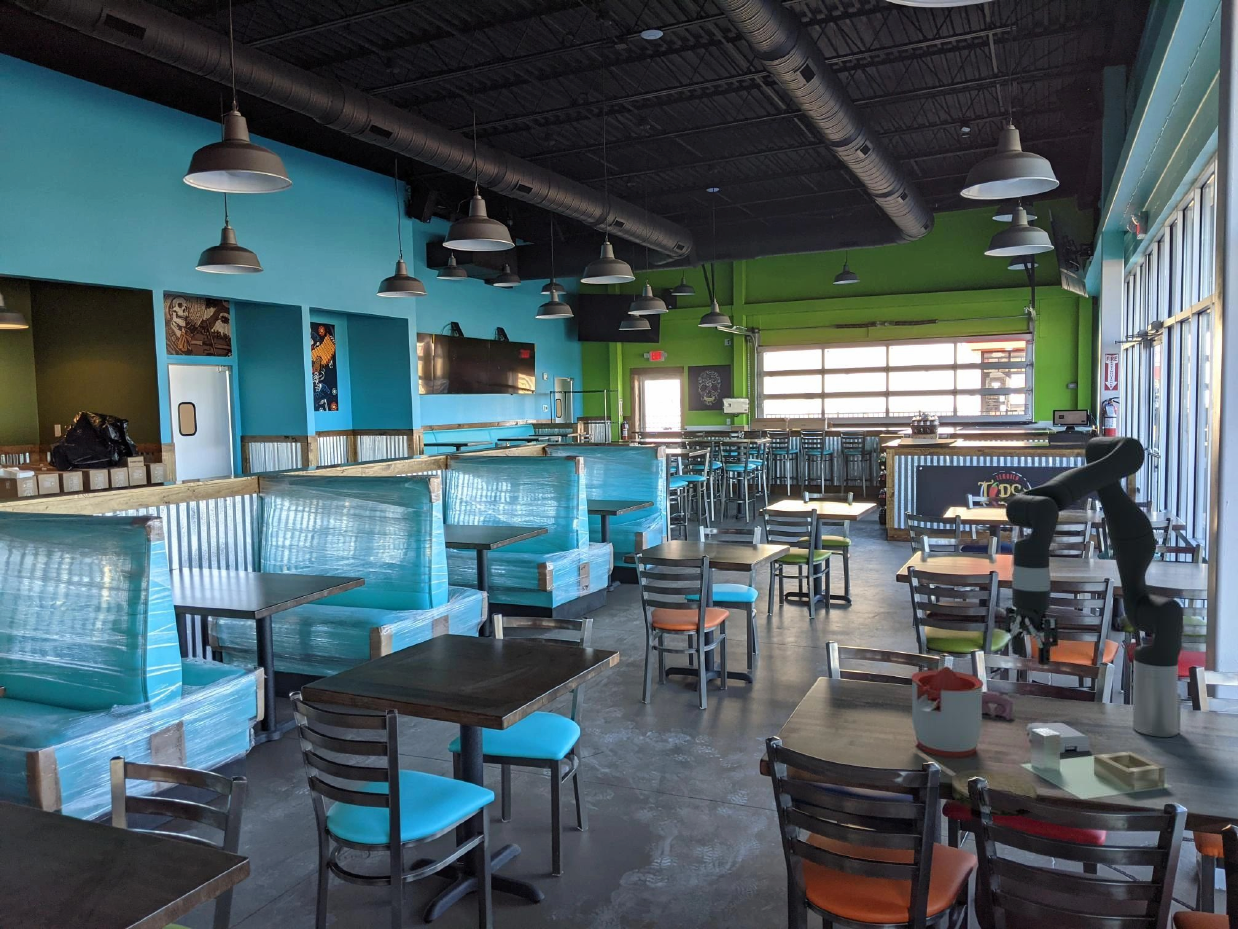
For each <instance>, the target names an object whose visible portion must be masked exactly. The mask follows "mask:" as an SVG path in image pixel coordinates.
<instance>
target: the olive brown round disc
mask: <svg viewBox="0 0 1238 929" xmlns="http://www.w3.org/2000/svg"><path fill="white" fill-rule="evenodd" d="M974 776H976V777H982V778H984V779H986V780H987V783H988V786H989V787H990V788H995V789H997V790H1005V791H1011V792H1013V793H1016V794H1020V795H1026V796H1030V797H1032V798H1035V799H1037V800H1038V791H1037V788H1036V787H1035V786H1034V785H1033V784H1032V783H1031V782H1029V781H1028V780H1026V779H1025V778H1022V777H1019V776H1017V775H1014V774H1011V773H1007V772H1002V771H997V770H988V769H970V770H964V771H960V772H957V773H955V774H954V776H953V777H951V792H952V793H951V795H952V797H953V798H954V800H955V801H956V802H957V803H959V804H960V805H962V806H964V807H966V808H968V809H971V804H970V801H969V793H968V787H967V780H968V779H970V777H974ZM971 810H972V809H971ZM989 815H994V816H999V817H1018V816H1020V815H1019V814H1014V813H1011V812H1006V811H1005V810H1000V809H994V808H991V809H990V814H989Z"/></svg>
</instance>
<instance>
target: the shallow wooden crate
mask: <svg viewBox="0 0 1238 929" xmlns="http://www.w3.org/2000/svg"><path fill="white" fill-rule="evenodd" d="M1093 756H1094V755H1093ZM1165 769H1166V768H1165V766H1162V765H1160V764H1158V763H1155V762H1154V761H1151V760H1149V759H1148V758H1145V757H1142V756H1141V755H1138V754H1136V753H1134V752H1132V751H1123V752H1122V751H1119V752H1113V753H1106V754H1104V755H1102V754H1096V756H1094V774H1095V775H1097V776H1099V777H1100V778H1102V779H1104V780H1106V781H1108V782H1110V783H1112V784H1114V785H1116V786H1118V787H1120V788H1122V789H1124V790H1126V791H1135V790H1143V789H1150V788H1157V787H1164V783H1165V778H1166V777H1165V775H1166V774H1165V771H1166V770H1165Z"/></svg>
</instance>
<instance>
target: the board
mask: <svg viewBox="0 0 1238 929" xmlns="http://www.w3.org/2000/svg"><path fill="white" fill-rule="evenodd" d="M1096 755H1097V754H1096ZM1096 755H1094V754H1093V755H1089V756H1088V755H1087V756H1078V757H1073V758H1064V759H1063V758H1062V759H1060V771H1053V772H1045V773H1044V772H1042V771H1040V770H1038V769H1037V768H1035V767H1033V766H1031V762H1030V763H1023V764H1020V766H1021V767H1023V768H1025V769H1027V770H1029V771H1031V772H1032V773H1034V774H1035V775H1037V776H1039V777H1041V778H1042V779H1044V780H1047V781H1048V782H1050V783H1052V784H1053V785H1055V786H1057V787H1059V788H1061V789H1063V790H1064V791H1066V792H1068V793H1070V794H1072V795H1073V796H1075V797H1077V798H1078V799H1079V800H1087V799H1094V798H1096V799H1097V798H1102V797H1109V796H1115V795H1124V794H1133V793H1137V792H1147V791H1153V790H1154V791H1155V790H1160V789H1167V788H1173V786H1172V785H1170V784H1168V783H1164V787H1157V788H1150V789H1143V790H1135V791H1126V790H1124V789H1122V788H1120V787H1118V786H1116V785H1114V784H1112V783H1110V782H1108V781H1106V780H1104V779H1102V778H1100V777H1099V776H1097V775H1095V774H1094V756H1096ZM1101 755H1104V754H1103V753H1102V754H1101Z"/></svg>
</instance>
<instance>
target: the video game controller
mask: <svg viewBox="0 0 1238 929" xmlns="http://www.w3.org/2000/svg"><path fill="white" fill-rule="evenodd" d="M990 704H993V705H996V706H995V707H994V708H993V712H994V714H995V715H996V716H998V717H999V716H1000V717H1001V716H1003V715H1005V719H1006V721H1010V720H1011V718H1012V715H1013V714H1012V713H1013V709H1014V706H1013V705H1014V703H1013V701H1012V698H1009V697H1008V696H1007V695H1005V694H1002V693H999V692H997V691H990V690H989V691H988V690H987V691H982V714H986V713H987V714H989V713H991V709H992V708H991V706H990ZM1004 713H1005V714H1004Z"/></svg>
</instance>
